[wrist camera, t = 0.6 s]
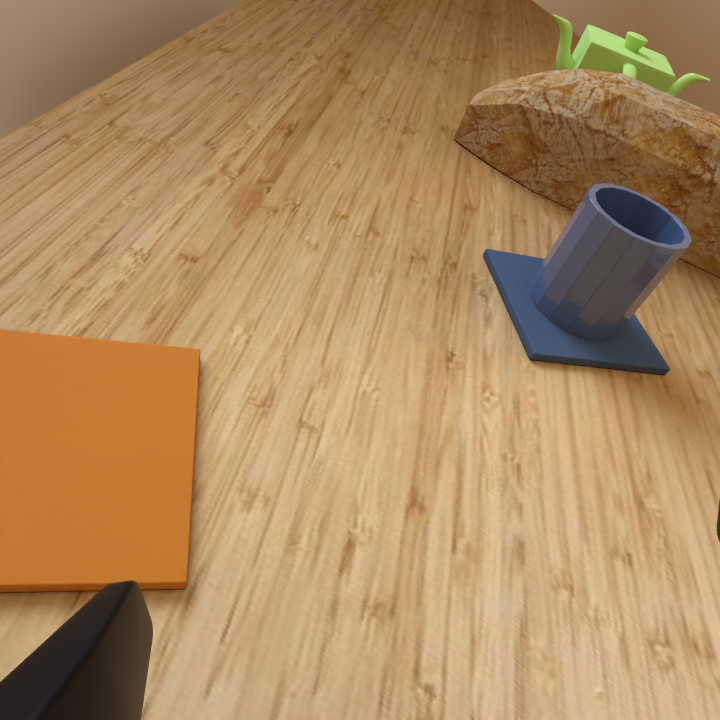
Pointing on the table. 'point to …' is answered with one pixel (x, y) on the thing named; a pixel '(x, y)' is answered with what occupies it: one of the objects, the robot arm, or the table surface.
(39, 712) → the robot arm
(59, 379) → the amber mat
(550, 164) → the bread
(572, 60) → the teapot
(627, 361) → the slate mat
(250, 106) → the table surface
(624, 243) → the blue cup
